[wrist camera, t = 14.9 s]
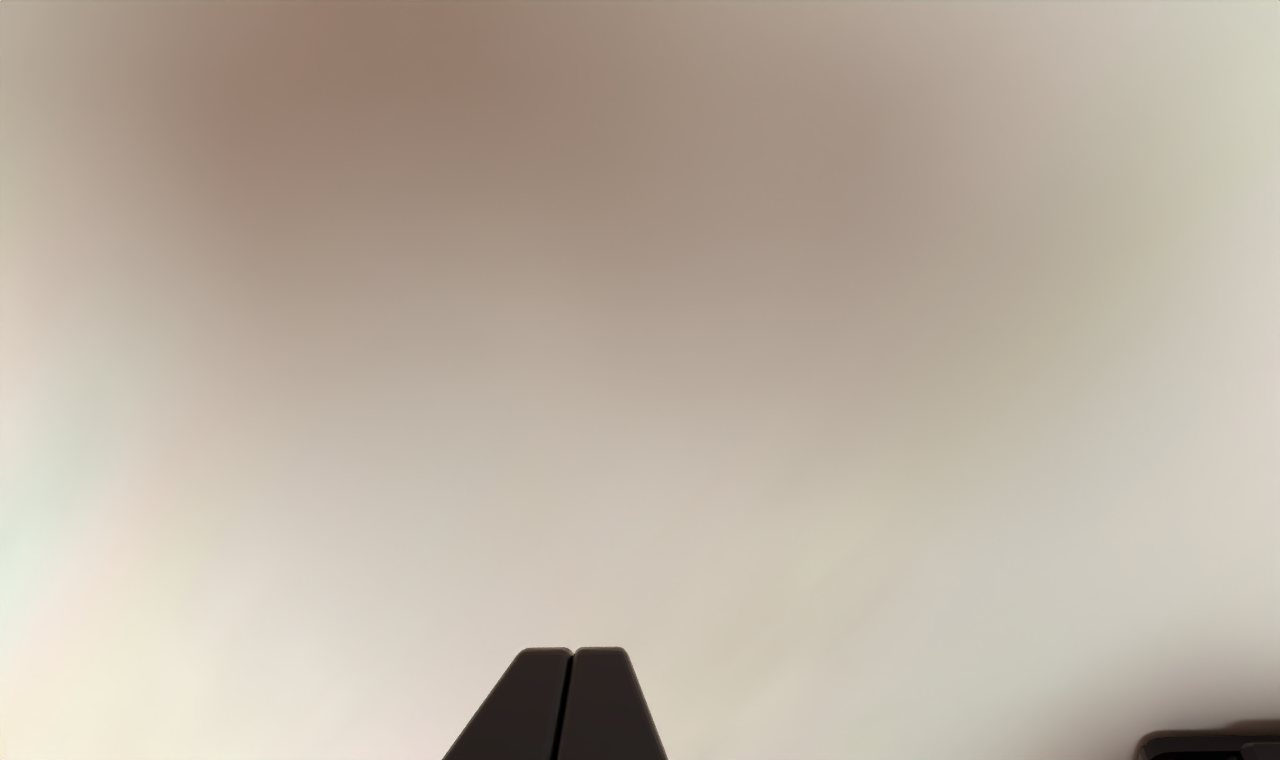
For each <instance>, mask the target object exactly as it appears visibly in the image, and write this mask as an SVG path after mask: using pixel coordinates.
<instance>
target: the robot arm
mask: <svg viewBox="0 0 1280 760" xmlns="http://www.w3.org/2000/svg"><path fill="white" fill-rule="evenodd" d="M442 760H668V758H667V755H666V753H665V750H664V747H663V745H662V742H661V740H660V737H659V734H658V732H657V729H656V726H655V724H654V721H653V719H652V716H651V713H650V711H649V708H648V705H647V703H646V700H645V698H644V695H643V692H642V690H641V687H640V684H639V682H638V679H637V677H636V674H635V671H634V669H633V666H632V663H631V661H630V658H629V656H628V654H627V652H626V651H625V650H624V649H623V648H621V647H582V648H579V649H578V650H576V652H575V654H573V652H572V651H571V650H570V649H568V648H565V647H550V648H526V649H524V650H522V651H521V652H520V653H519V654H518V655H517V656H516V657H515V659H514V660H513V661H512V663H511V664H510V666H509V667H508V668H507V670H506V671H505V673H504V674H503V675H502V677H501V678H500V680H499V681H498V682H497V684H496V685H495V687H494V688H493V689H492V691H491V692H490V693H489V695H488V696H487V698H486V699H485V700H484V702H483V703H482V705H481V706H480V707H479V709H478V710H477V712H476V713H475V714H474V716H473V717H472V718H471V720H470V721H469V723H468V724H467V725H466V727H465V728H464V730H463V731H462V732H461V734H460V735H459V737H458V738H457V739H456V741H455V742H454V744H453V745H452V746H451V748H450V749H449V750H448V752H447V753H446V755H445V756H444V757H443V759H442ZM1138 760H1280V736H1223V737H1165V738H1158V739H1155V740H1152V741H1150V742H1148V743H1147V744H1145V745H1144V746H1143V747H1142V749H1141V750H1140V752H1139V756H1138Z"/></svg>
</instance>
